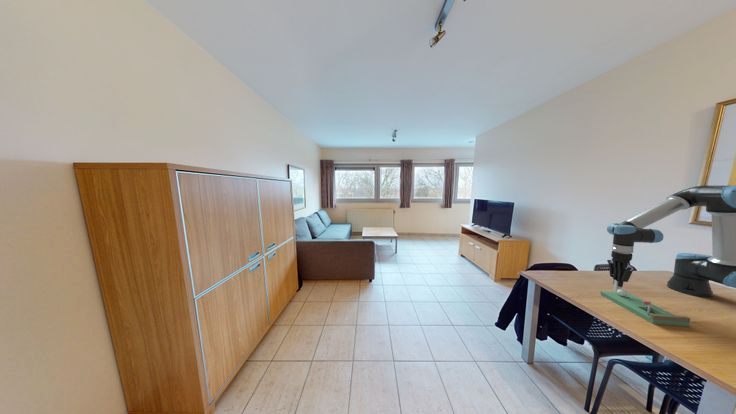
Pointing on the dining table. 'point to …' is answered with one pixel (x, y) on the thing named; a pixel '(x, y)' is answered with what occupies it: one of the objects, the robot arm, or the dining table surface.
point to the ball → (622, 292)
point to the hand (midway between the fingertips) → (617, 290)
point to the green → (646, 309)
